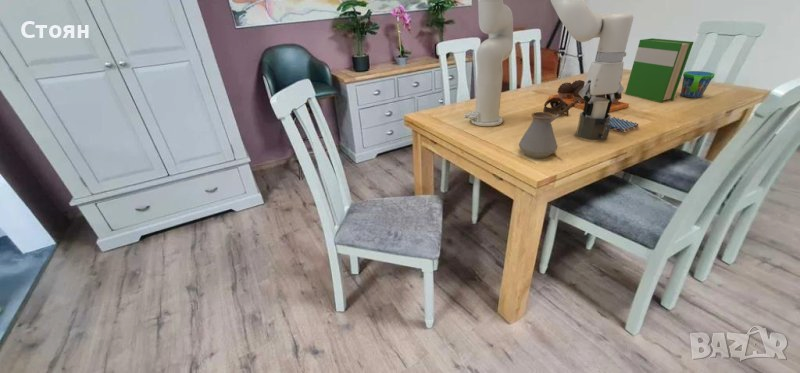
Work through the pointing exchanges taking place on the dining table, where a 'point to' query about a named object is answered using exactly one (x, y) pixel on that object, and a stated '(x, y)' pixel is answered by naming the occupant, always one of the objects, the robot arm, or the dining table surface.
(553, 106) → the broken brown clay pot
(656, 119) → the dining table surface
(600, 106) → the paper cup
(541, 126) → the coffee pot
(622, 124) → the woven mat
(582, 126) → the mug
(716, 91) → the dining table surface
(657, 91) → the hardback book
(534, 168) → the dining table surface
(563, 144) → the dining table surface
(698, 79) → the snack cup
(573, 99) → the chocolate cupcake tray
